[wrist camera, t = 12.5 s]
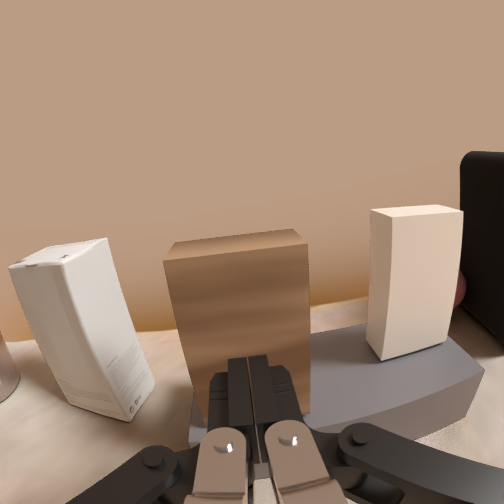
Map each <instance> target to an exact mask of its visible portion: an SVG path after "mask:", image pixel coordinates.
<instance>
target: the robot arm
mask: <svg viewBox="0 0 504 504" xmlns="http://www.w3.org/2000/svg"><path fill="white" fill-rule="evenodd" d="M248 362H249V370H250V378H249V372H248V365H247V358H246V357H240V358H231V359H228V372H218V373H215V375H214V376H213V378H212V379H211V381H210V387H209V405H208V425H207V434H206V435H204V437H203V438H202V440H201V442H200V443H199V444H198V445H196V446H195V447H193V448H190V449H187V450H183V451H179V452H176V453H174V452H173V451H172V450H171V449H169V448H167V447H164V446H150V447H146V448H144V449H143V450H141V451H140V452H138V453H137V454H136V455H134V456H133V457H132V458H130V459H129V460H128V461H126V462H125V463H124V464H122V465H121V466H120V467H118V468H117V469H115V470H114V471H113V472H111V473H110V474H108V475H107V476H106V477H104V478H103V479H101V480H100V481H99V482H97V483H96V484H94V485H93V486H91V487H90V488H88V489H87V490H85V491H84V492H82V493H81V494H79V495H78V496H76V497H75V498H73V499H72V500H70V501H69V502H67V503H65V504H255V468H254V464H260V458H259V450H258V442H257V435H258V441H259V447H260V453H261V460H262V463H268V468H269V474H270V481H271V485H272V489H273V493H274V497H275V501H276V504H348V503H347V500H346V498H348V499H350V500H352V501H354V502H356V503H358V504H504V469H501V468H497V467H493V466H490V465H486V464H482V463H479V462H475V461H472V460H468V459H465V458H462V457H459V456H455V455H452V454H449V453H446V452H443V451H440V450H437V449H434V448H432V447H429V446H426V445H423V444H420V443H418V442H415V441H412V440H410V439H407V438H405V437H402V436H400V435H397V434H395V433H392V432H390V431H387V430H385V429H382V428H380V427H378V426H375V425H373V424H370V423H364V422H361V423H354V424H351V425H349V426H347V427H345V428H344V429H343V430H342V431H341V433H324V432H319V431H316V430H314V429H312V428H310V427H309V426H308V425H307V424H306V423H305V422H304V419H303V416H302V413H301V410H300V406H299V403H298V399H297V396H296V392H295V389H294V386H293V383H292V379H291V375H290V372H289V371H288V370H287V369H286V368H285V367H284V366H282V365H277V366H270V367H269V364H268V359H267V355H266V354H264V355H256V356H248ZM19 379H20V373H19V371H18V369H17V367H16V365H15V363H14V361H13V359H12V357H11V355H10V353H9V350H8V348H7V346H6V344H5V341H4V339H3V337H2V334H1V332H0V402H1V401H3V400H4V399H6V398H7V397H8V396H9V395H10V394H11V393H12V392H13V391H14V389H15V388H16V387H17V385H18V382H19ZM250 379H251V385H250ZM251 388H252V393H251ZM252 396H253V401H252ZM253 405H254V409H253ZM254 413H255V417H254ZM255 421H256V426H255ZM256 428H257V434H256ZM345 497H346V498H345Z"/></svg>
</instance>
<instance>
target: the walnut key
mask: <svg viewBox="0 0 504 504" xmlns="http://www.w3.org/2000/svg"><path fill="white" fill-rule="evenodd" d="M163 264H164V269H165V274H166V279H167V284H168V289H169V294H170V298H171V302H172V307H173V312H174V316H175V320H176V325H177V329H178V333H179V337H180V341H181V345H182V349H183V352H184V356H185V360H186V364H187V367H188V371H189V375H190V378H191V382H192V385H193V389H194V392H195V395H196V399H197V402H198V405H199V408H200V412H201V415H202V418H203V421H204V424H205V426H207V425H208V405H209V387H210V381H211V379H212V378H213V376H214V375H215V373H218V372H228V359H231V358H240V357H246V358H247V365H248V372H249V378H250V370H249V362H248V356H256V355H264V354H266V355H267V359H268V364H269V367H270V366H277V365H282V366H284V367H285V368H286V369H287V370H288V371H289V372H290V375H291V379H292V383H293V386H294V389H295V392H296V396H297V399H298V403H299V406H300V410H301V413H302V415H304V414H310V373H311V342H310V291H309V266H308V265H309V264H308V244H307V243H306V242H305V241H304V240H303V238H302V237H301V236H300V235H299V234H297V232H296V231H294V229H286V230H277V231H268V232H259V233H250V234H242V235H233V236H225V237H216V238H208V239H200V240H192V241H184V242H176V243H174V245H173V246H172V248H171V249H170V251H169V252H168V254H167V255H166V257H165V258H164V260H163ZM250 385H251V379H250ZM251 393H252V388H251ZM252 401H253V396H252ZM253 409H254V405H253ZM254 417H255V413H254ZM255 422H256V421H255Z"/></svg>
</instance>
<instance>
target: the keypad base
mask: <svg viewBox="0 0 504 504" xmlns="http://www.w3.org/2000/svg"><path fill="white" fill-rule="evenodd" d="M366 329H367V323H366V324H361V325H357V326H352V327H346V328H341V329H336V330H330V331H325V332H319V333H313V334H310V342H311V373H310V414H304V415H302V416H303V419H304V422H305V423H306V424H307V425H308V426H309V427H310V428H312V429H314V430H316V431H319V432H324V433H341V431H342V430H343V429H344V428H345V427H347V426H349V425H351V424H354V423H361V422H364V423H370V424H373V425H375V426H378V427H380V428H382V429H385V430H387V431H390V432H392V433H395V434H397V435H400V436H402V437H405V438H407V439H410V440H412V441H413V440H416V439H418V438H421V437H423V436H425V435H428V434H430V433H432V432H435V431H437V430H439V429H441V428H443V427H445V426H448V425H450V424H452V423H454V422H456V421H458V420H460V419H462V418H464V417H465V416H466V414H467V411H468V409H469V407H470V405H471V403H472V401H473V398H474V396H475V394H476V391H477V389H478V387H479V384H480V382H481V379H482V377H483V374H484V371H485V369H484V368H483V367H482V366H481V365H480V364H478V363H477V362H476V361H475V360H474V359H473V358H472V357H471V356H470V355H469V354H468V353H467V352H466V351H464V350H463V349H462V348H461V347H460V346H459V345H458V344H457V343H456V342H455V341H453V340H452V339H451V338H450V337H449V336H448V335H447V338H446V341H444V342H441V343H439V344H436V345H433V346H430V347H426V348H423V349H420V350H417V351H414V352H410V353H407V354H404V355H400V356H397V357H393V358H390V359H386V360H382V361H381V360H380V358H379V357H378V356H377V354H376V353H375V351H374V350H373V349H372V347H371V346H370V345H369V343H368V342H367V341H366ZM255 426H256V422H255ZM206 434H207V426H205V424H204V421H203V418H202V415H201V412H200V408H199V405H198V402H197V399H196V395H195V392H194V394H193V402H192V411H191V420H190V429H189V438H188V443H189V446H190V448H193V447H195V446H196V445H198V444H199V443H200V442H201V440H202V438H203V437H204V435H206ZM256 434H257V428H256ZM257 442H258V450H259V458H260V464H254V468H255V479H262V478H270V474H269V468H268V463H262V460H261V453H260V447H259V441H258V435H257Z"/></svg>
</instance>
